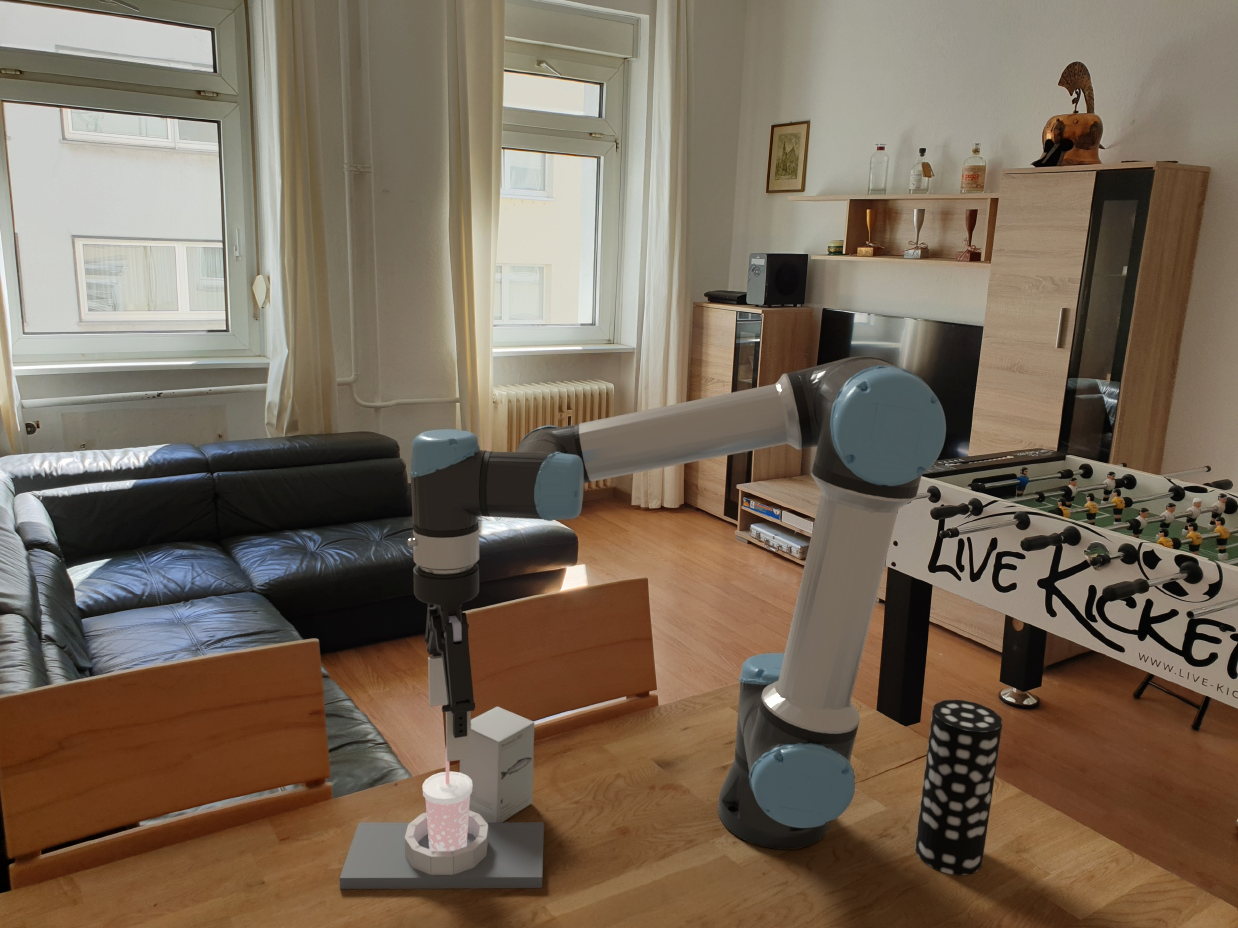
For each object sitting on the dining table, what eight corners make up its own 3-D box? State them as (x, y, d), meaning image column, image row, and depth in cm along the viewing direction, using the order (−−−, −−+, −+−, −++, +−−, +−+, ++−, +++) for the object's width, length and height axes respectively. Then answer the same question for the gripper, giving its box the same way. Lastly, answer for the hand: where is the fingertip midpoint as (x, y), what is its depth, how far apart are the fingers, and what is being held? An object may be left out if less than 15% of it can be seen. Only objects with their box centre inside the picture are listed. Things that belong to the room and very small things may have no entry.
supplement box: (496, 828, 125) (497, 742, 122) (457, 807, 129) (457, 723, 126) (534, 804, 131) (536, 721, 128) (495, 784, 135) (496, 703, 132)
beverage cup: (443, 871, 114) (442, 766, 111) (412, 848, 118) (411, 747, 115) (482, 849, 118) (483, 748, 115) (452, 828, 122) (452, 729, 119)
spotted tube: (912, 864, 121) (930, 722, 117) (917, 828, 129) (934, 694, 124) (981, 882, 118) (1002, 737, 114) (982, 844, 126) (1002, 707, 121)
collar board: (543, 832, 125) (544, 805, 124) (541, 887, 114) (542, 858, 113) (359, 832, 123) (358, 805, 122) (339, 888, 112) (338, 859, 111)
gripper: (400, 534, 120) (404, 688, 125) (429, 605, 97) (433, 790, 102) (459, 530, 122) (461, 681, 127) (501, 598, 99) (501, 778, 104)
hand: (449, 729), depth 114 cm, fingers open, 13 cm apart
